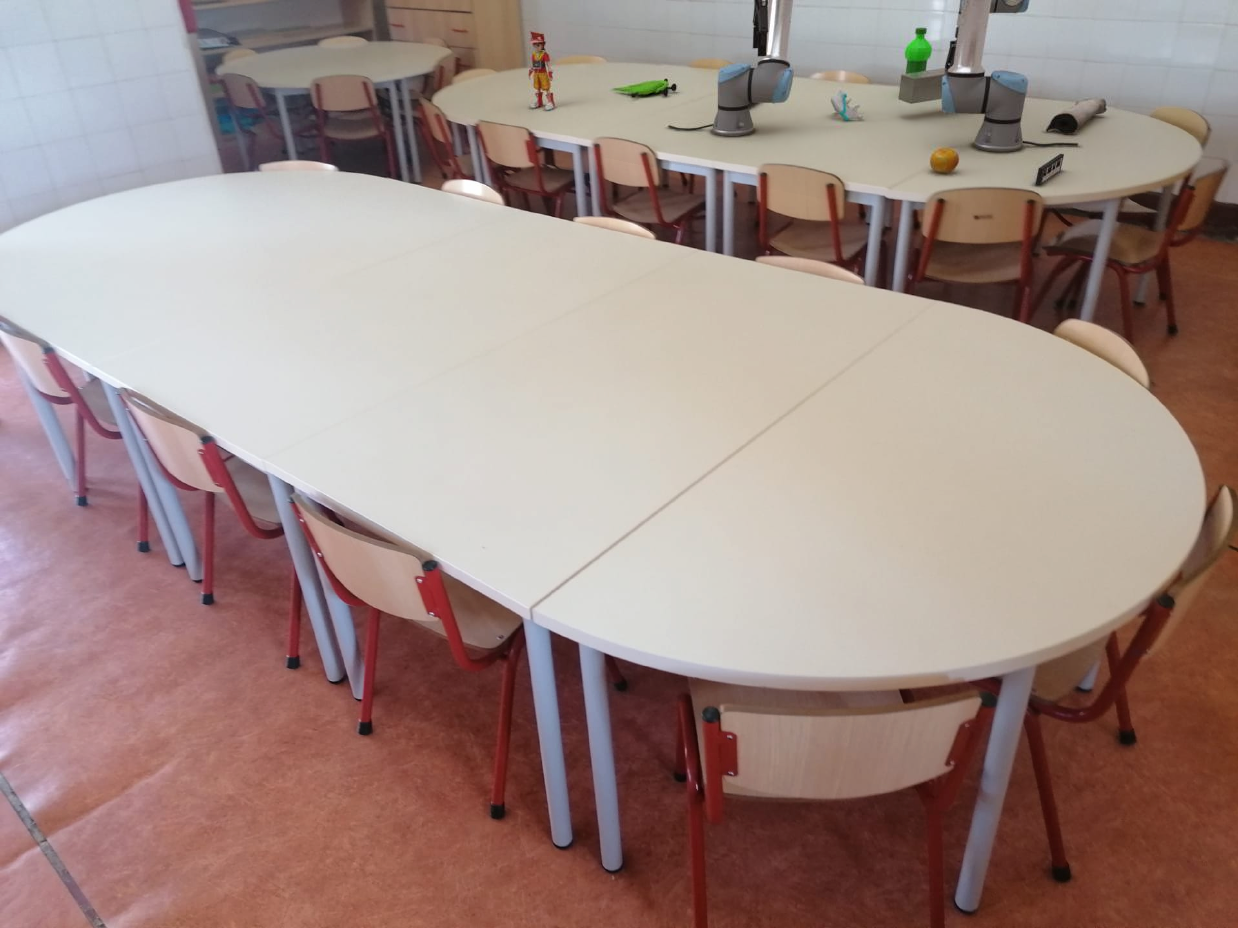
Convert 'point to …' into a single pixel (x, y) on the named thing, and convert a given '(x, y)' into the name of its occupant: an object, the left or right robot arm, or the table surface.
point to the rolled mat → (1077, 115)
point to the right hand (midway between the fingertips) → (957, 91)
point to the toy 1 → (541, 71)
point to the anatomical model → (845, 107)
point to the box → (922, 86)
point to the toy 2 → (648, 88)
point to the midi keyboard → (1049, 169)
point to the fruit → (944, 160)
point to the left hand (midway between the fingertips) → (759, 52)
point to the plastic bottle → (918, 52)
